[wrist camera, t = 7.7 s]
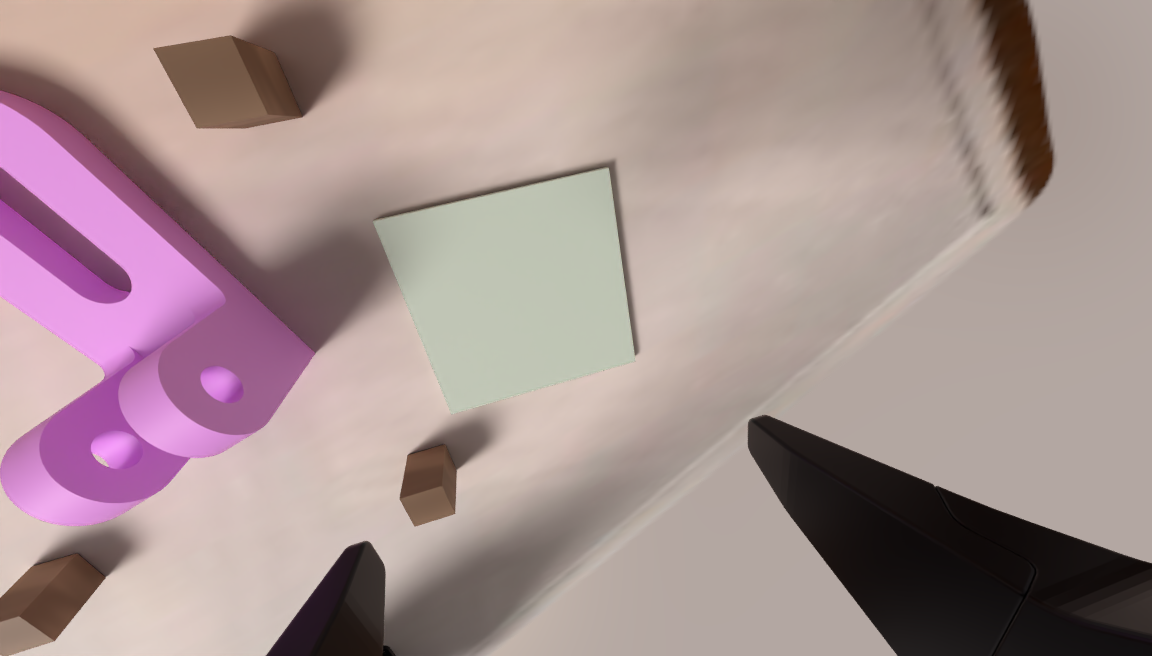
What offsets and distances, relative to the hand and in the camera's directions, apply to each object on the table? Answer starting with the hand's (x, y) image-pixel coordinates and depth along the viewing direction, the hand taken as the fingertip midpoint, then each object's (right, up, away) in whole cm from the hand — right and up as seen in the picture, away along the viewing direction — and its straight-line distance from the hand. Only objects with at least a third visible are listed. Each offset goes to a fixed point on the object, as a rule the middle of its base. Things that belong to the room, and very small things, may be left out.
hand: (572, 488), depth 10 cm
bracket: (-17, +6, +7) cm, 19 cm away
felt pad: (-2, +5, +10) cm, 12 cm away
